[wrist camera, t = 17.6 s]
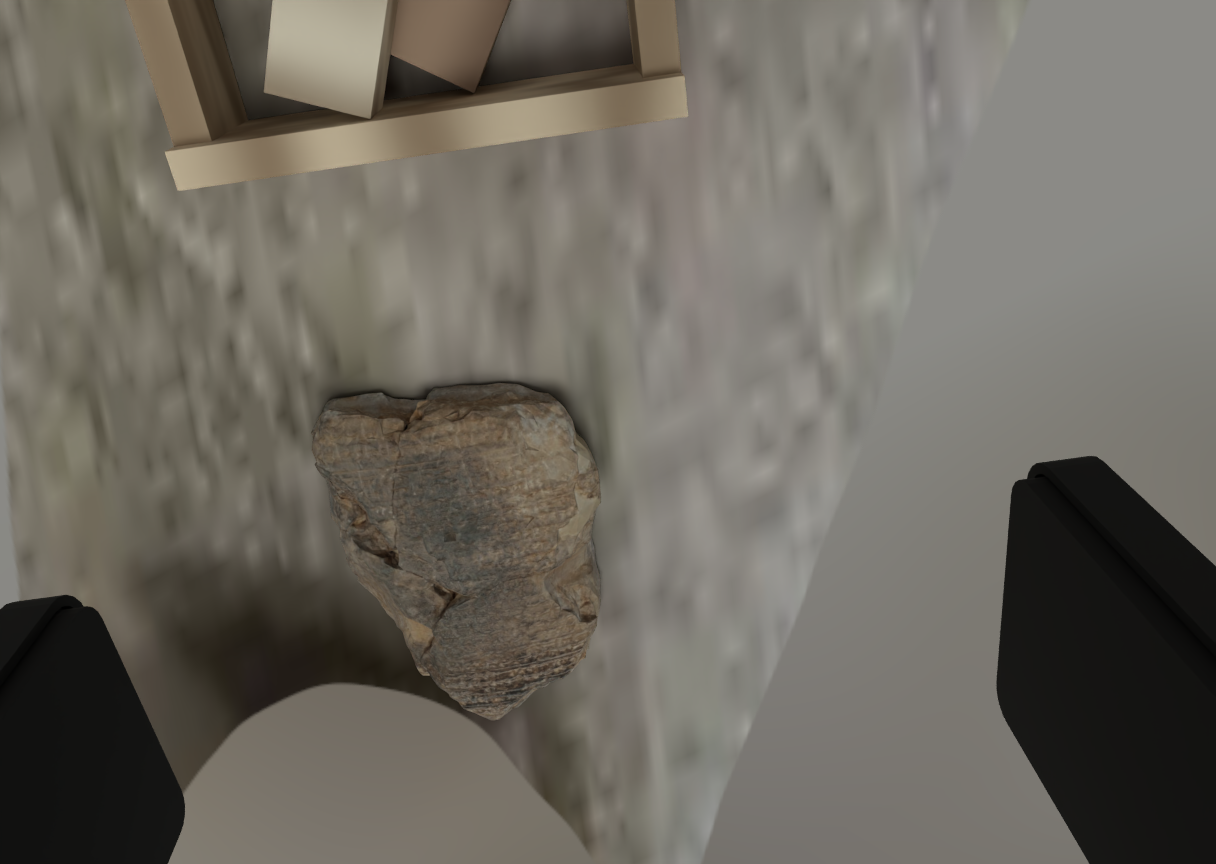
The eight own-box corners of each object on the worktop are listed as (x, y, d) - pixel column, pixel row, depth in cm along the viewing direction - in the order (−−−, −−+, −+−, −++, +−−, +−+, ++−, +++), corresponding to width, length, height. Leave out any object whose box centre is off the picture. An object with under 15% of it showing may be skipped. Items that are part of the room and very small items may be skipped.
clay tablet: (620, 668, 57) (589, 365, 48) (623, 729, 53) (590, 409, 44) (388, 688, 58) (311, 389, 48) (372, 750, 53) (285, 436, 44)
